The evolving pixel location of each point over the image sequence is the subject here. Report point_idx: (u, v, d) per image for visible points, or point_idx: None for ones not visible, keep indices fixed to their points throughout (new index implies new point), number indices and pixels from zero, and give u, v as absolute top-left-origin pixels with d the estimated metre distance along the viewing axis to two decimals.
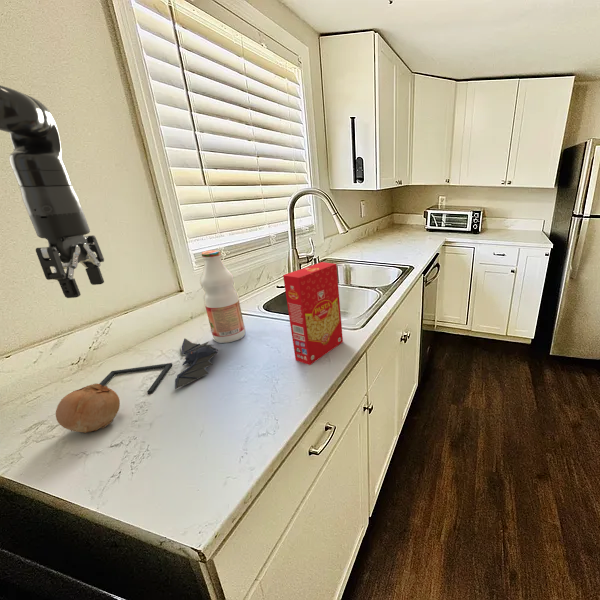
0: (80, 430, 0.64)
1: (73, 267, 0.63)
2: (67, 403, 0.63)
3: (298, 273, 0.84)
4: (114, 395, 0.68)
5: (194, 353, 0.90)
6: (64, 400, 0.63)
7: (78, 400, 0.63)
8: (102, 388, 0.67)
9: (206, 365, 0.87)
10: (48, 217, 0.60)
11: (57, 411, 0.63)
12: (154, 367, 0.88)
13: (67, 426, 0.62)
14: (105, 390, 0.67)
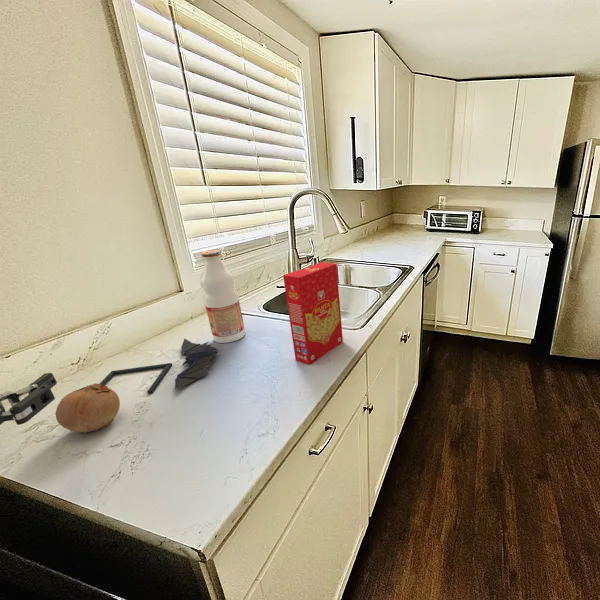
0: (80, 430, 0.64)
1: None
2: (67, 403, 0.63)
3: (299, 273, 0.84)
4: (114, 395, 0.68)
5: (194, 353, 0.90)
6: (64, 400, 0.63)
7: (78, 400, 0.63)
8: (102, 388, 0.67)
9: (206, 365, 0.87)
10: None
11: (57, 411, 0.63)
12: (154, 367, 0.88)
13: (67, 426, 0.62)
14: (105, 390, 0.67)
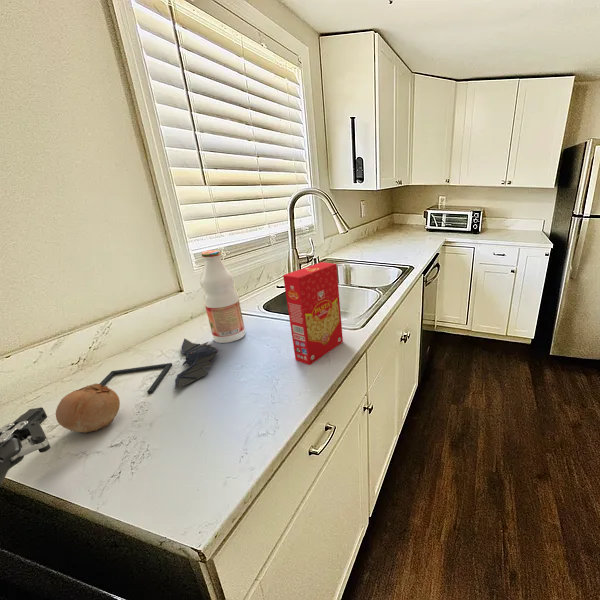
0: (80, 430, 0.64)
1: None
2: (67, 403, 0.63)
3: (299, 273, 0.84)
4: (114, 395, 0.68)
5: (194, 353, 0.90)
6: (64, 400, 0.63)
7: (78, 400, 0.63)
8: (102, 388, 0.67)
9: (206, 365, 0.87)
10: None
11: (57, 411, 0.63)
12: (154, 367, 0.88)
13: (67, 426, 0.62)
14: (105, 390, 0.67)
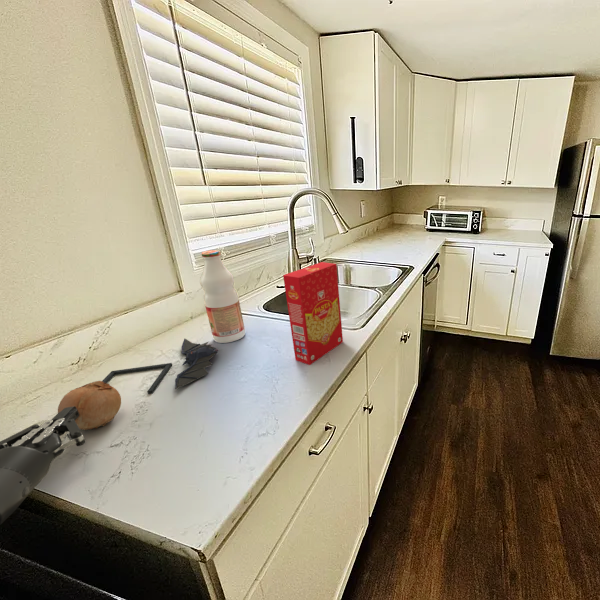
0: (81, 427, 0.64)
1: None
2: (70, 399, 0.63)
3: (299, 273, 0.84)
4: (116, 393, 0.69)
5: (194, 353, 0.90)
6: (66, 396, 0.64)
7: (80, 396, 0.64)
8: (104, 385, 0.68)
9: (206, 365, 0.87)
10: None
11: (59, 407, 0.63)
12: (154, 367, 0.88)
13: None
14: (107, 388, 0.68)
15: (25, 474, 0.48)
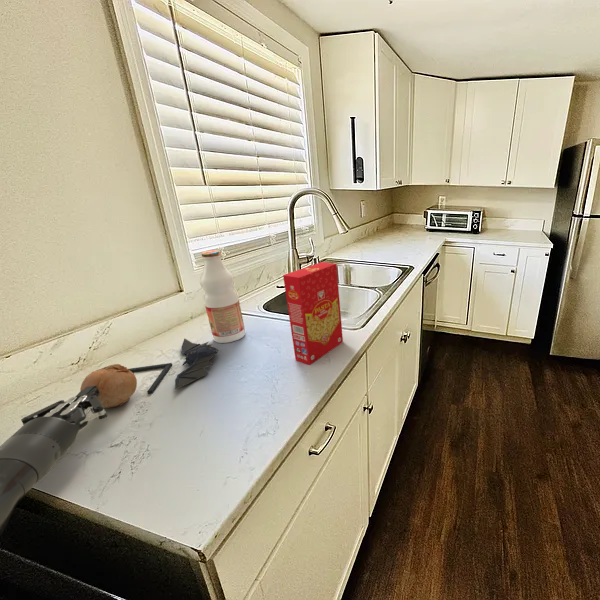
0: None
1: None
2: (91, 379, 0.69)
3: (299, 273, 0.84)
4: (132, 375, 0.75)
5: (194, 353, 0.90)
6: (88, 377, 0.70)
7: (100, 377, 0.70)
8: (122, 368, 0.74)
9: (206, 365, 0.87)
10: None
11: (82, 386, 0.69)
12: (154, 367, 0.88)
13: None
14: (124, 370, 0.74)
15: (57, 440, 0.54)
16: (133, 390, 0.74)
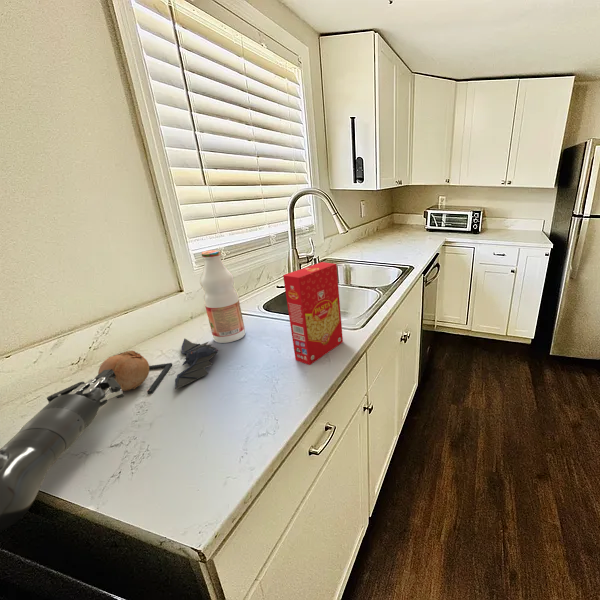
0: None
1: None
2: (108, 364, 0.75)
3: (299, 273, 0.84)
4: (145, 361, 0.80)
5: (194, 353, 0.90)
6: (105, 361, 0.76)
7: (116, 362, 0.76)
8: (136, 354, 0.79)
9: (206, 365, 0.87)
10: None
11: (99, 370, 0.75)
12: (154, 367, 0.88)
13: None
14: (138, 356, 0.79)
15: (81, 415, 0.59)
16: (146, 375, 0.80)
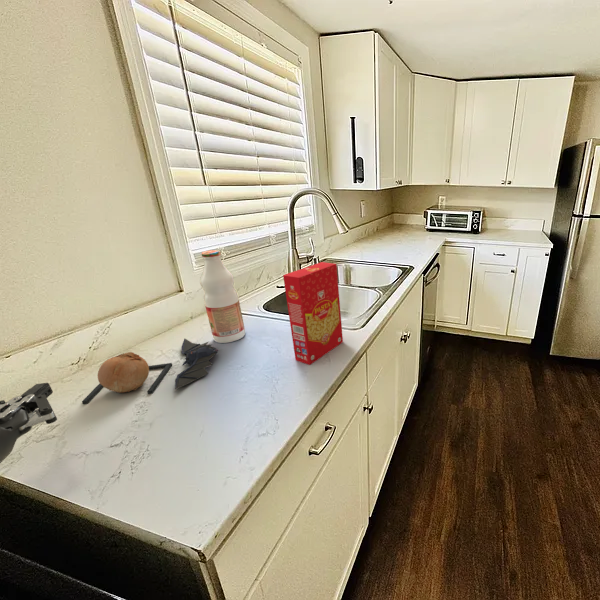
0: (116, 390, 0.76)
1: None
2: (107, 366, 0.75)
3: (299, 273, 0.84)
4: (144, 363, 0.80)
5: (194, 353, 0.90)
6: (104, 364, 0.75)
7: (115, 364, 0.75)
8: (135, 356, 0.79)
9: (206, 365, 0.87)
10: None
11: (99, 372, 0.75)
12: (154, 367, 0.88)
13: (106, 385, 0.75)
14: (137, 358, 0.79)
15: None
16: (146, 376, 0.80)
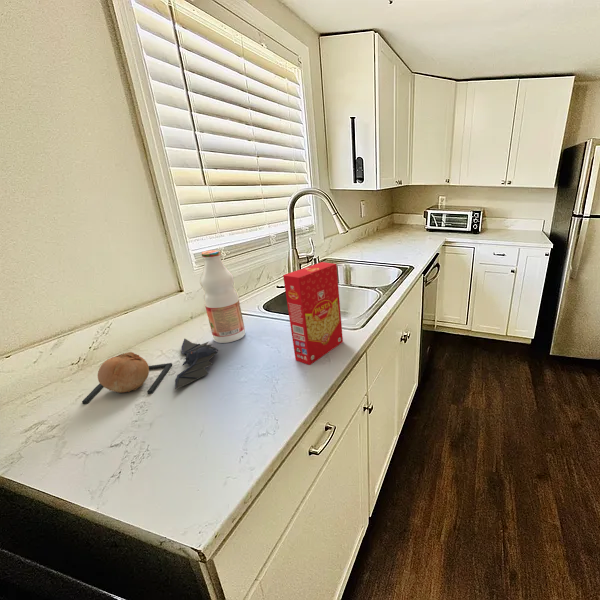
0: (116, 390, 0.76)
1: None
2: (107, 366, 0.75)
3: (299, 273, 0.84)
4: (144, 363, 0.80)
5: (194, 353, 0.90)
6: (104, 364, 0.75)
7: (115, 364, 0.75)
8: (135, 356, 0.79)
9: (206, 365, 0.87)
10: None
11: (99, 372, 0.75)
12: (154, 367, 0.88)
13: (106, 385, 0.75)
14: (137, 358, 0.79)
15: None
16: (146, 376, 0.80)
